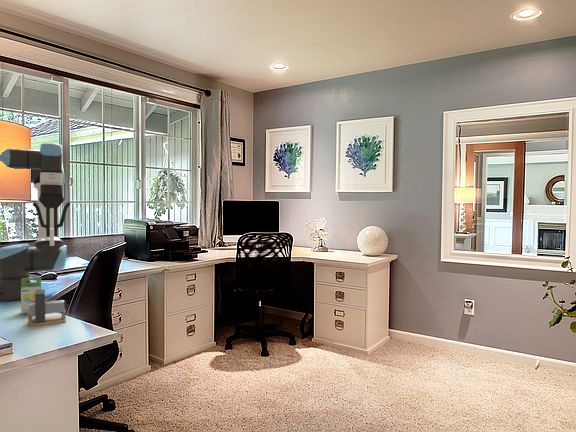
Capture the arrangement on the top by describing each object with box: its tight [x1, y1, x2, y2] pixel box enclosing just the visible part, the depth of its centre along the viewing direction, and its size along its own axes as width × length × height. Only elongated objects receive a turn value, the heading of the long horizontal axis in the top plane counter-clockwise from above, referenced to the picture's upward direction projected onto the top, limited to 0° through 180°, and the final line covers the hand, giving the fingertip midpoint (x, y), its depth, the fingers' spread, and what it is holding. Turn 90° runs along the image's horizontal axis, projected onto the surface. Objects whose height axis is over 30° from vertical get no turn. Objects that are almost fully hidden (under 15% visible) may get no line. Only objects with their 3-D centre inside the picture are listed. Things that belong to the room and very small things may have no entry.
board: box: [27, 308, 67, 327], centre depth 157 cm, size 8×12×3 cm
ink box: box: [20, 276, 42, 315], centre depth 168 cm, size 7×4×13 cm, turn 120°
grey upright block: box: [34, 289, 46, 323], centre depth 155 cm, size 8×3×10 cm, turn 30°
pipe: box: [28, 299, 66, 316], centre depth 157 cm, size 4×11×4 cm, turn 120°
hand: (52, 245), depth 167 cm, fingers closed
